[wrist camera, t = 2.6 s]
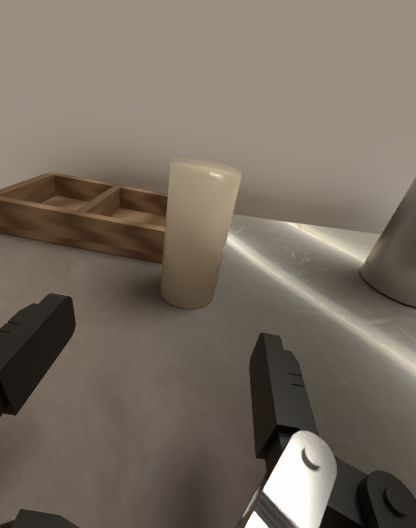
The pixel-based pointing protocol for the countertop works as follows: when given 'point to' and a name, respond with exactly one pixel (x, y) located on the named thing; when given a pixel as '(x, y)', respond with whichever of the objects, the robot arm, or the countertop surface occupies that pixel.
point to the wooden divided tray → (86, 215)
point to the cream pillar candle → (196, 229)
